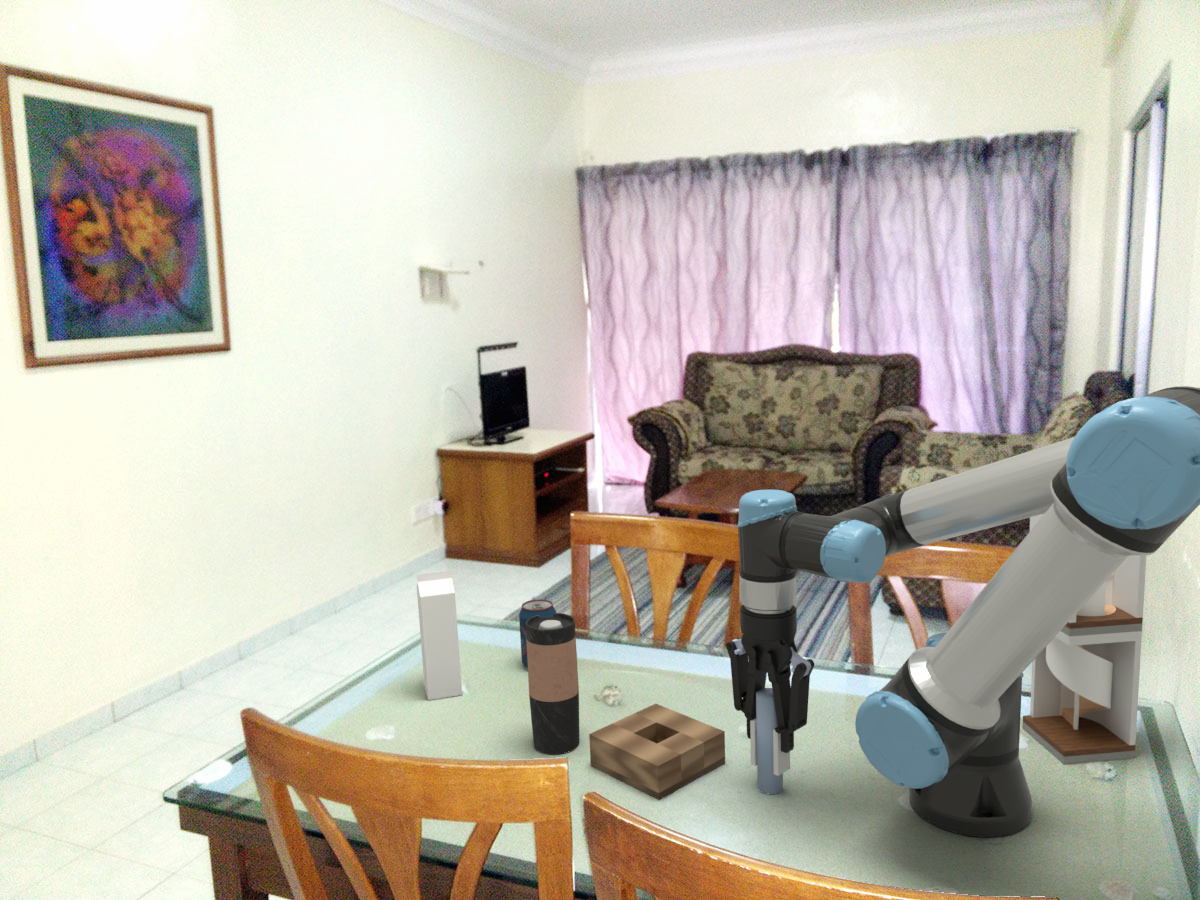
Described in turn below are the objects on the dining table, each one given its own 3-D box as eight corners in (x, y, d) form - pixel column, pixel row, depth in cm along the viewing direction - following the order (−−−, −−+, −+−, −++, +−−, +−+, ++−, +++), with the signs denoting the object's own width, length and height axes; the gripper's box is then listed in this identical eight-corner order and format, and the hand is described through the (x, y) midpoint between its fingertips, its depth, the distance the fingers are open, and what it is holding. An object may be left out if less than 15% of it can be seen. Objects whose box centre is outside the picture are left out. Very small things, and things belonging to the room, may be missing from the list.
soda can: (519, 661, 185) (515, 600, 183) (555, 656, 187) (552, 596, 184) (525, 675, 178) (521, 612, 176) (562, 670, 180) (559, 608, 178)
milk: (462, 695, 171) (454, 574, 167) (427, 701, 169) (418, 579, 165) (457, 682, 177) (449, 565, 173) (423, 687, 175) (415, 569, 171)
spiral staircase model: (1022, 728, 150) (1030, 506, 144) (1088, 722, 151) (1099, 502, 145) (1063, 764, 139) (1074, 526, 133) (1134, 758, 140) (1148, 521, 134)
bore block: (725, 763, 143) (724, 731, 142) (659, 799, 134) (657, 766, 133) (656, 733, 154) (655, 703, 153) (590, 765, 144) (589, 734, 143)
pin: (788, 787, 136) (787, 693, 133) (772, 797, 134) (770, 701, 131) (768, 778, 138) (767, 685, 136) (752, 787, 136) (750, 693, 134)
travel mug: (563, 760, 146) (556, 633, 143) (522, 748, 150) (514, 625, 147) (590, 738, 153) (585, 616, 149) (550, 728, 157) (544, 609, 153)
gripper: (835, 610, 128) (836, 776, 132) (738, 586, 140) (741, 738, 144) (801, 626, 123) (802, 797, 127) (703, 599, 135) (708, 756, 139)
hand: (770, 766), depth 136 cm, fingers closed on pin, 3 cm apart
